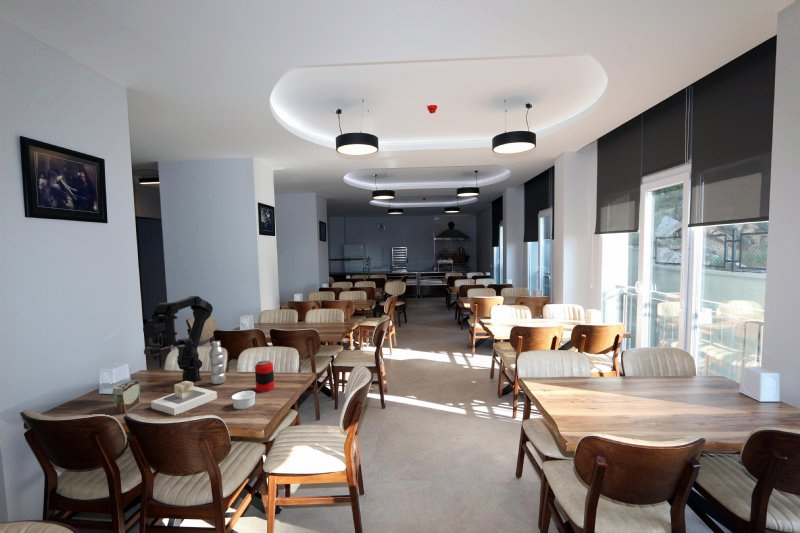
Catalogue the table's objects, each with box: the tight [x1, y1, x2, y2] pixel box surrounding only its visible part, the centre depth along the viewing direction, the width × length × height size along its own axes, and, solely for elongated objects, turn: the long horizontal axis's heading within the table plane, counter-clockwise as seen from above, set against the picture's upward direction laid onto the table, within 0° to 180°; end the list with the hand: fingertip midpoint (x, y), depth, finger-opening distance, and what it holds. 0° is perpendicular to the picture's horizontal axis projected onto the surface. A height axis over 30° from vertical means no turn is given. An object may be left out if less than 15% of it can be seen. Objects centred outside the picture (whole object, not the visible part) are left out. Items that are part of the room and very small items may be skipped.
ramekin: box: [231, 390, 256, 410], centre depth 154 cm, size 9×9×4 cm
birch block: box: [173, 381, 194, 399], centre depth 159 cm, size 5×5×5 cm
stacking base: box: [150, 385, 218, 416], centre depth 159 cm, size 18×16×3 cm
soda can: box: [254, 360, 275, 393], centre depth 171 cm, size 8×8×12 cm
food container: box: [112, 378, 141, 414], centre depth 155 cm, size 12×6×10 cm, turn 5°
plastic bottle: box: [208, 340, 227, 385], centre depth 180 cm, size 6×7×20 cm
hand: (170, 365), depth 173 cm, fingers open, 9 cm apart
